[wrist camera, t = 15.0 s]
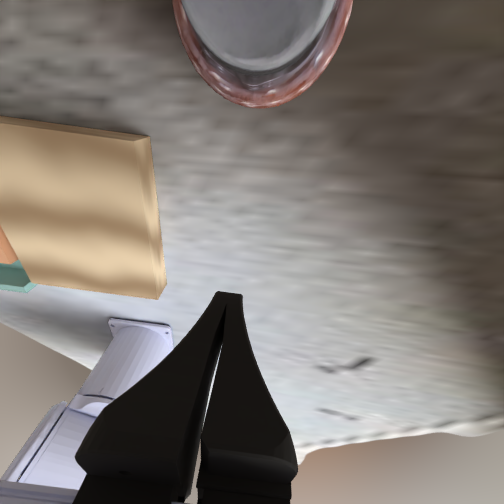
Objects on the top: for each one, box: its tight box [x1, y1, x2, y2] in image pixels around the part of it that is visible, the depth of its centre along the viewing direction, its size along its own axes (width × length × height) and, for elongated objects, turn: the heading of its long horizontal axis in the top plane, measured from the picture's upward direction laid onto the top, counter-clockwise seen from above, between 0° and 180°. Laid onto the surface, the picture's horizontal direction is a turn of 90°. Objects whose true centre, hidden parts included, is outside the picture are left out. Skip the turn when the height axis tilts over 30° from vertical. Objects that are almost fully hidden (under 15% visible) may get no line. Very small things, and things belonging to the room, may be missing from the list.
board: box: [0, 116, 167, 300], centre depth 21 cm, size 15×13×2 cm
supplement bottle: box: [172, 0, 353, 108], centre depth 10 cm, size 6×6×11 cm
